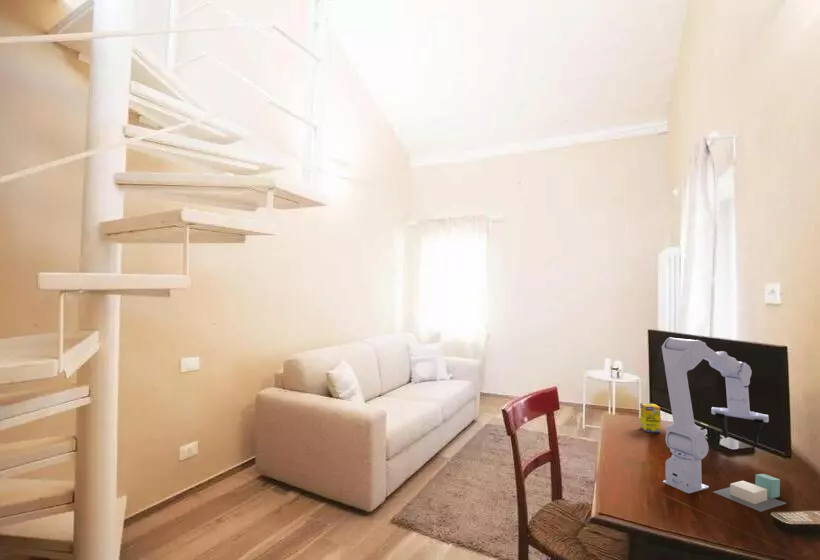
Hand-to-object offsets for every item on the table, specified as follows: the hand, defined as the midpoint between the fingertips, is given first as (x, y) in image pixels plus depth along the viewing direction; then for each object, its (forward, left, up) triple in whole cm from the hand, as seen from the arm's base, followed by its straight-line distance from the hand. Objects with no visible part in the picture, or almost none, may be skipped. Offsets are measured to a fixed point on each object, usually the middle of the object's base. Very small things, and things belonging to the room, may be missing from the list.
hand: (740, 439), depth 134 cm
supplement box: (+12, +41, -11) cm, 44 cm away
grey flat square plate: (-17, -11, -11) cm, 23 cm away
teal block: (-11, -12, -10) cm, 19 cm away
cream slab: (-17, -11, -10) cm, 23 cm away
